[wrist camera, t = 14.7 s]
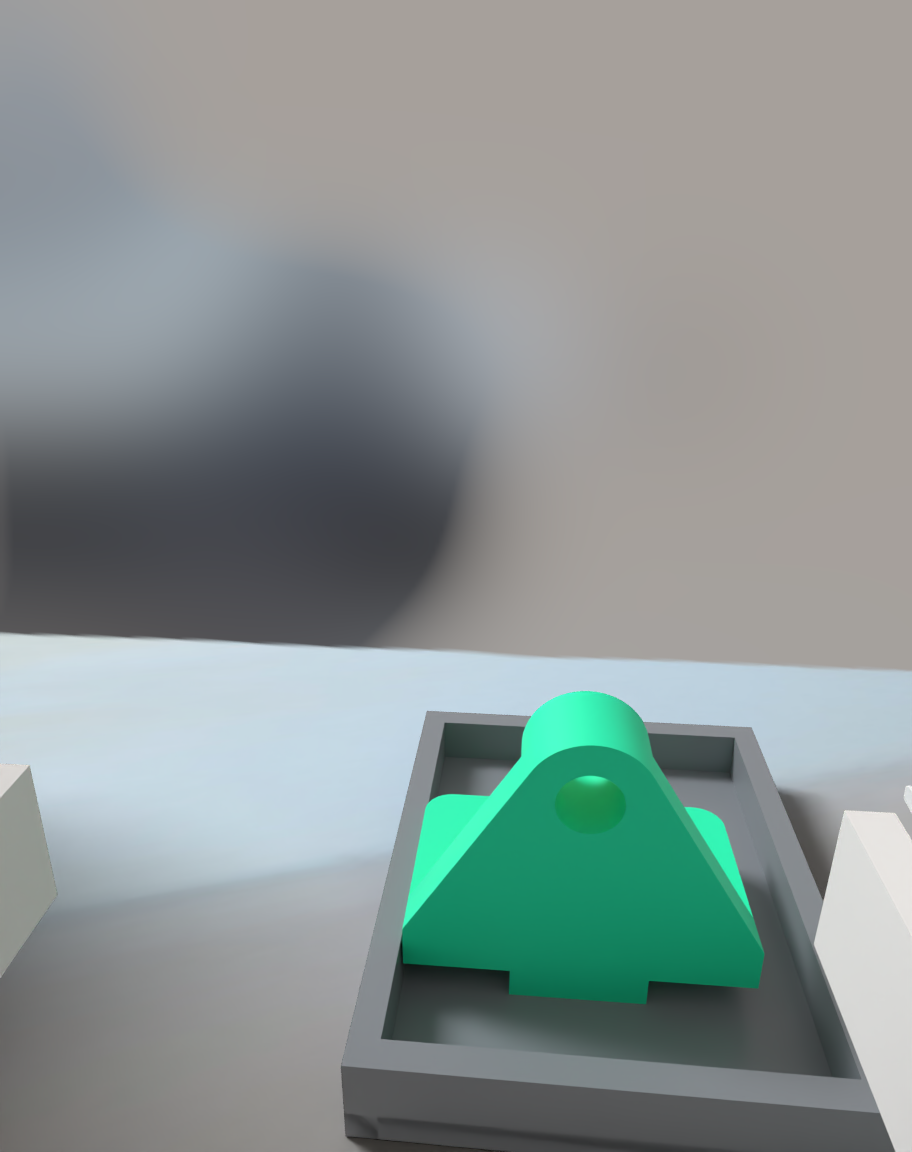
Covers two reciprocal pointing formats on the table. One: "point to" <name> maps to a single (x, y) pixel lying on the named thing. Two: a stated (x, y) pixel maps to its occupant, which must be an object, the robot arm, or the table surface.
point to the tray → (611, 1029)
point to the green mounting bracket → (581, 870)
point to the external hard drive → (908, 797)
